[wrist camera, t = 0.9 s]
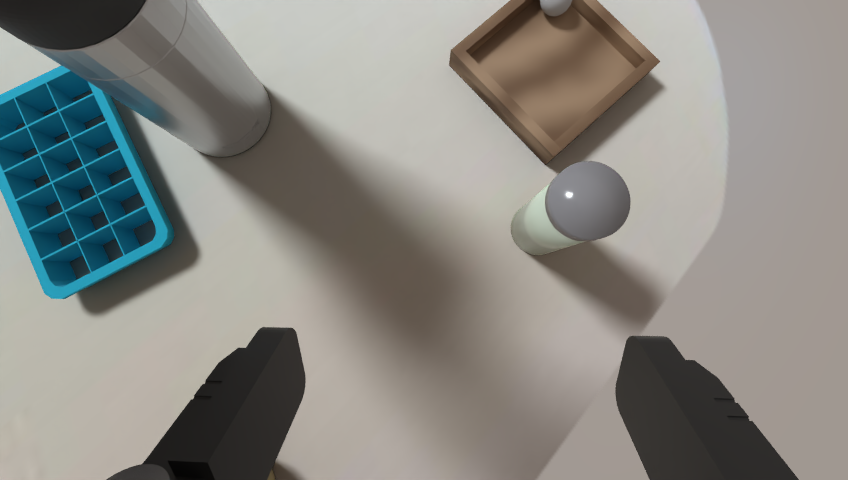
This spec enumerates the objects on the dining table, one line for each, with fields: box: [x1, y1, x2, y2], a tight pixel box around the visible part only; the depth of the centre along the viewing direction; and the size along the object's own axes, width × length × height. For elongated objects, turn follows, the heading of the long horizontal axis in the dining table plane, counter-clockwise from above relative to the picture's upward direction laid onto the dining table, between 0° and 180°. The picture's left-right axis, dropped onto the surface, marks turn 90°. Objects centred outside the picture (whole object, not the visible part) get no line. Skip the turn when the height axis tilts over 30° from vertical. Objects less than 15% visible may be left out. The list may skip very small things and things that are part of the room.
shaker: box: [511, 161, 630, 255], centre depth 32 cm, size 5×5×12 cm
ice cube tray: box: [0, 66, 174, 299], centre depth 37 cm, size 12×20×3 cm, turn 29°
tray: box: [449, 0, 660, 165], centre depth 39 cm, size 14×14×2 cm
